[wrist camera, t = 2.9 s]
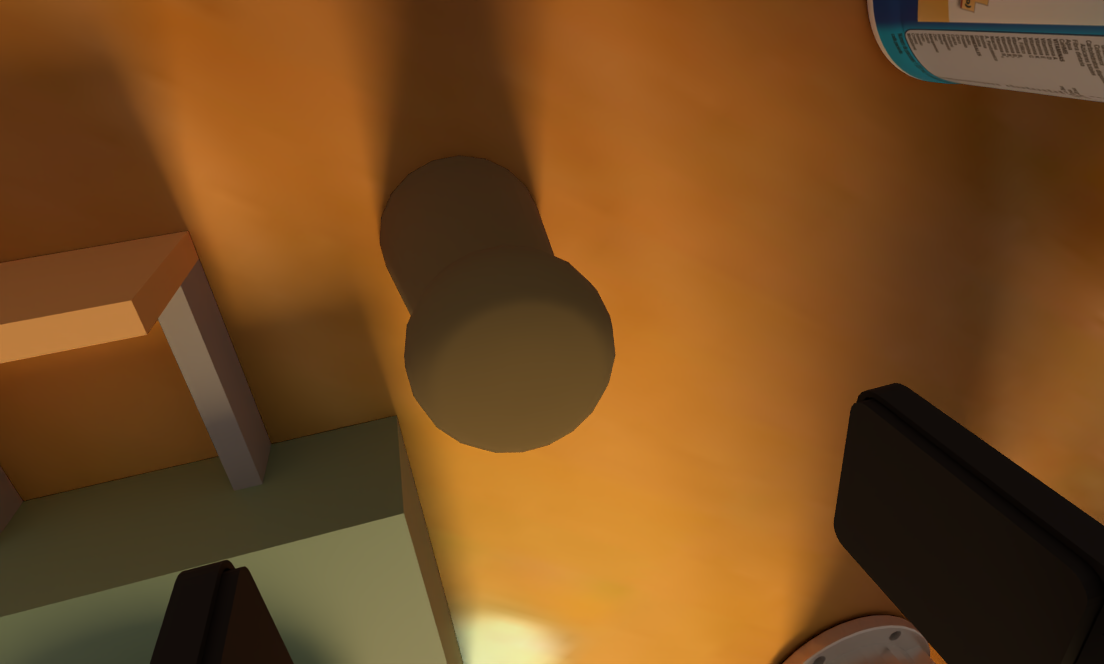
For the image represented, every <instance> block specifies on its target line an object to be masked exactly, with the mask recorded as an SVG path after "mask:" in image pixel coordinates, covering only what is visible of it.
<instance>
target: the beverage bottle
mask: <svg viewBox="0 0 1104 664" xmlns="http://www.w3.org/2000/svg"><path fill="white" fill-rule="evenodd" d="M867 7H868V15H869V20H870V24H871V28H872V31H873V34H874V37H875V39H876V41H877V43H878V45H879V47H880V49H881V50H882V52H883V53H884V55H885V56H886V57H887V59H888V60H889V61H890V62H891V63H892V64H893V65H894V66H895V67H897V68H898V69H899V70H901V71H902V72H904V73H905V74H907V75H909V76H911V77H914V78H917V79H920V80H924V81H929V82H937V83H947V84H966V85H974V86H982V87H990V88H998V89H1006V90H1013V91H1021V92H1029V93H1036V94H1044V95H1051V96H1059V97H1067V98H1074V99H1082V100H1089V101H1097V102H1104V0H867Z"/></svg>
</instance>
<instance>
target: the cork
mask: <svg viewBox="0 0 1104 664" xmlns="http://www.w3.org/2000/svg"><path fill="white" fill-rule="evenodd" d="M380 246H381V249H382V253H383V256H384V260H385V263H386V267H387V269H388V271H389V273H390V275H391V277H392V279H393V281H394V283H395V285H396V287H397V289H398V291H399V293H400V295H401V297H402V299H403V301H404V303H405V305H406V307H407V309H408V311H409V313H410V315H411V317H410V320H409V322H408V324H407V329H406V341H405V353H404V358H405V368H406V372H407V375H408V379H409V382H410V385H411V389H412V392H413V396H414V397H415V398H416V400H417V401H418V403H419V404H420V406H421V407H422V408H423V410H424V411H425V412H426V414H427V415H428V416H429V418H430V419H431V420H432V422H433V423H434V424H435V425H436V427H437V428H439V429H440V430H442V431H443V432H445V433H446V434H448V435H449V436H451V437H452V438H454V439H456V440H457V441H459V442H460V443H463V444H466V445H469V446H473V447H476V448H480V449H484V450H487V451H491V452H495V453H505V452H525V451H529V450H532V449H536V448H539V447H543V446H547V445H550V444H551V443H553V442H555V441H557V440H558V439H560V438H562V437H564V436H565V435H567V434H569V433H571V432H572V431H574V430H575V429H576V428H577V427H578V426H579V425H580V424H581V423H582V422H583V421H584V420H585V419H586V418H587V417H588V416H589V415H590V414H591V413H592V412H593V410H594V408H595V407H596V405H597V403H598V401H599V400H600V398H601V396H602V395H603V393H604V391H605V389H606V387H607V385H608V383H609V380H610V376H611V371H612V367H613V363H614V358H615V347H614V338H613V329H612V323H611V319H610V315H609V313H608V311H607V309H606V307H605V305H604V303H603V301H602V299H601V297H600V295H599V293H598V291H597V290H596V289H595V288H594V287H593V285H592V284H591V283H590V282H589V281H588V280H587V279H586V278H585V277H584V276H582V275H581V274H580V273H579V272H578V271H577V270H576V269H575V268H574V267H573V266H572V265H571V264H570V263H568V262H567V261H564V260H562V259H560V258H557V257H555V256H554V254H553V251H552V248H551V245H550V242H549V240H548V237H547V234H546V231H545V228H544V225H543V223H542V220H541V217H540V214H539V211H538V209H537V207H536V205H535V203H534V201H533V199H532V197H531V195H530V193H529V191H528V189H527V188H526V186H524V185H523V184H522V183H521V182H520V181H519V180H518V179H517V178H516V177H515V176H514V175H513V174H512V173H511V172H510V171H509V170H507V169H505V168H503V167H501V166H499V165H497V164H495V163H493V162H491V161H488V160H486V159H482V158H474V157H466V156H454V157H449V158H444V159H439V160H434V161H431V162H429V163H428V164H426V165H424V166H422V167H421V168H419V169H417V170H415V171H414V172H412V173H410V174H409V175H408V176H407V177H406V178H405V179H404V180H403V181H402V183H401V184H400V185H399V186H398V187H397V188H396V189H395V190H394V192H393V193H392V194H391V196H390V198H389V201H388V203H387V205H386V208H385V210H384V213H383V215H382V217H381V231H380Z"/></svg>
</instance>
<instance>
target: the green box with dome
mask: <svg viewBox="0 0 1104 664" xmlns="http://www.w3.org/2000/svg"><path fill="white" fill-rule="evenodd" d="M157 319H158V320H159V323H160V325H161V327H162V329H163V332H164V334H165V336H166V338H167V341H168V343H169V345H170V347H171V350H172V352H173V354H174V356H175V359H176V361H177V363H178V365H179V368H180V370H181V372H182V374H183V377H184V379H185V381H186V383H187V386H188V388H189V390H190V393H191V395H192V397H193V399H194V402H195V404H196V406H197V408H198V411H199V413H200V415H201V417H202V420H203V422H204V424H205V426H206V429H207V431H208V433H209V435H210V438H211V440H212V442H213V444H214V447H215V449H216V451H217V453H218V456H219V457H214V458H210V459H206V460H201V461H197V462H193V463H188V464H184V465H180V466H175V467H171V468H167V469H162V470H158V471H154V472H149V473H145V474H141V475H136V476H132V477H128V478H123V479H119V480H115V481H110V482H106V483H102V484H97V485H93V486H89V487H84V488H80V489H76V490H71V491H67V492H63V493H58V494H54V495H50V496H45V497H41V498H37V499H32V500H28V501H24V502H23V500H22V499H21V497H20V496H19V494H18V493H17V491H16V490H15V488H14V487H13V485H12V483H11V482H10V480H9V479H8V477H7V476H6V474H5V473H4V471H3V470H2V468H1V467H0V664H150V661H151V658H152V654H153V651H154V648H155V645H156V642H157V638H158V635H159V632H160V629H161V625H162V622H163V619H164V616H165V613H166V609H167V606H168V603H169V600H170V596H171V593H172V590H173V587H174V584H175V581H176V579H177V576H178V575H179V574H180V573H181V572H182V571H185V570H189V569H193V568H197V567H200V566H204V565H208V564H212V563H215V562H219V561H223V560H229V561H230V562H231V563H232V564H233V566H234V567H235V569H236V568H239V567H244V566H245V567H247V568H248V569H249V571H250V573H251V575H252V577H253V579H254V581H255V583H256V585H257V587H258V590H259V592H260V594H261V596H262V598H263V600H264V602H265V604H266V606H267V608H268V611H269V613H270V615H271V617H272V619H273V621H274V623H275V625H276V627H277V629H278V632H279V634H280V636H281V638H282V640H283V642H284V644H285V646H286V648H287V650H288V652H289V655H290V657H291V659H292V661H293V663H294V664H463V661H462V657H461V653H460V649H459V646H458V642H457V638H456V635H455V631H454V627H453V623H452V620H451V616H450V612H449V608H448V605H447V601H446V597H445V594H444V590H443V586H442V582H441V579H440V575H439V571H438V568H437V564H436V560H435V556H434V553H433V549H432V545H431V541H430V538H429V534H428V530H427V527H426V523H425V519H424V515H423V512H422V508H421V504H420V501H419V497H418V493H417V489H416V486H415V482H414V478H413V474H412V471H411V467H410V463H409V460H408V456H407V452H406V448H405V445H404V441H403V437H402V434H401V430H400V426H399V422H398V419H397V415H396V416H392V417H388V418H383V419H379V420H375V421H370V422H366V423H362V424H357V425H353V426H349V427H344V428H340V429H336V430H331V431H327V432H323V433H318V434H314V435H310V436H305V437H301V438H297V439H292V440H288V441H284V442H279V443H275V444H271V442H270V440H269V437H268V434H267V432H266V429H265V427H264V424H263V422H262V419H261V416H260V414H259V411H258V409H257V406H256V404H255V401H254V398H253V396H252V393H251V391H250V388H249V386H248V383H247V381H246V378H245V375H244V373H243V370H242V368H241V365H240V363H239V360H238V357H237V355H236V352H235V350H234V347H233V345H232V342H231V340H230V337H229V334H228V332H227V329H226V327H225V324H224V322H223V319H222V316H221V314H220V311H219V309H218V306H217V304H216V301H215V299H214V296H213V293H212V291H211V288H210V286H209V283H208V281H207V278H206V275H205V273H204V270H203V268H202V265H201V263H200V260H199V258H198V255H197V252H196V250H195V247H194V245H193V242H192V240H191V237H190V234H189V232H188V231H184V232H178V233H172V234H167V235H161V236H155V237H149V238H143V239H137V240H132V241H126V242H120V243H114V244H108V245H102V246H97V247H91V248H85V249H79V250H73V251H67V252H62V253H56V254H50V255H44V256H38V257H32V258H27V259H21V260H15V261H9V262H3V263H0V363H5V362H10V361H16V360H21V359H26V358H31V357H36V356H41V355H46V354H51V353H56V352H62V351H67V350H72V349H77V348H82V347H87V346H92V345H97V344H102V343H107V342H113V341H118V340H123V339H128V338H133V337H138V336H143V335H147V334H148V333H149V331H150V330H151V328H152V327H153V325H154V324H155V322H156V321H157Z"/></svg>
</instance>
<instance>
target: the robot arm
mask: <svg viewBox="0 0 1104 664" xmlns="http://www.w3.org/2000/svg"><path fill="white" fill-rule="evenodd" d="M834 529H835V533H836V535H837V538H838V539H839V541H840V543H841V544H842V545H843V547H844V548H845V549H846V550H847V551H848V552H849V553H850V555H851V556H852V557H853V558H854V559H855V560H856V561H857V562H858V564H859V565H860V566H861V567H862V568H863V569H864V570H865V571H866V573H867V574H868V575H869V576H870V577H871V578H872V579H873V580H874V582H875V583H876V584H877V585H878V586H879V587H880V588H881V589H882V591H883V592H884V593H885V594H886V595H887V596H888V597H889V598H890V600H891V601H892V602H893V603H894V604H895V605H896V606H897V607H898V609H899V610H900V611H901V612H902V613H903V614H904V615H905V616H906V618H907V619H908V620H909V621H910V622H909V621H907V620H905V619H903V618H901V617H895V616H890V615H873V616H867V617H862V618H857V619H854V620H851V621H848V622H845V623H842V624H840V625H837V626H835V627H833V628H831V629H829V630H827V631H825V632H823V633H821V634H820V635H818V636H816V637H815V638H813V639H811V640H810V641H808V642H807V643H806V644H804V645H803V646H802V647H800V648H799V649H798V650H796V651H795V652H794V653H793V654H792V655H791V656H790V657H789V658H788V659H787V660H785V661H784V662H783V663H782V664H935V663H934V662H933V660H932V659H931V658H930V649H929V645H928V642H929V643H930V645H931V646H932V647H933V648H934V649H935V650H936V651H937V652H938V654H939V655H940V656H941V657H942V658H943V659H944V660H945V661H946V663H947V664H1104V526H1103V525H1102V524H1101V523H1099V522H1098V521H1096V520H1095V519H1093V518H1092V517H1091V516H1089V515H1088V514H1086V513H1085V512H1084V511H1082V510H1081V509H1079V508H1078V507H1076V506H1075V505H1074V504H1072V503H1071V502H1069V501H1068V500H1067V499H1065V498H1064V497H1062V496H1061V495H1059V494H1058V493H1057V492H1055V491H1054V490H1052V489H1051V488H1050V487H1048V486H1047V485H1045V484H1044V483H1042V482H1041V481H1040V480H1038V479H1037V478H1035V477H1034V476H1033V475H1031V474H1030V473H1028V472H1027V471H1025V470H1024V469H1023V468H1021V467H1020V466H1018V465H1017V464H1015V463H1014V462H1013V461H1011V460H1010V459H1008V458H1007V457H1006V456H1004V455H1003V454H1001V453H1000V452H998V451H997V450H996V449H994V448H993V447H991V446H990V445H989V444H987V443H986V442H984V441H983V440H981V439H980V438H979V437H977V436H976V435H974V434H973V433H972V432H970V431H969V430H967V429H966V428H964V427H963V426H962V425H960V424H959V423H957V422H956V421H955V420H953V419H952V418H950V417H949V416H947V415H946V414H945V413H943V412H942V411H940V410H939V409H937V408H936V407H935V406H933V405H932V404H930V403H929V402H928V401H926V400H925V399H923V398H922V397H920V396H919V395H918V394H916V393H915V392H913V391H912V390H911V389H909V388H908V387H906V386H904V385H902V384H898V383H893V384H890V385H886V386H882V387H878V388H874V389H871V390H867V391H864V392H862V393H861V394H860V395H859V396H858V399H857V403H854V405H853V406H852V408H851V411H850V417H849V424H848V431H847V437H846V444H845V451H844V457H843V464H842V471H841V477H840V484H839V490H838V497H837V504H836V510H835V517H834ZM927 641H928V642H927ZM150 664H294V663H293V661H292V659H291V657H290V655H289V652H288V650H287V648H286V646H285V644H284V642H283V640H282V638H281V636H280V634H279V632H278V629H277V627H276V625H275V623H274V621H273V619H272V617H271V615H270V613H269V611H268V608H267V606H266V604H265V602H264V600H263V598H262V596H261V594H260V592H259V590H258V587H257V585H256V583H255V581H254V579H253V577H252V575H251V573H250V571H249V569H248V568H247V567H245V566H244V567H239V568H236V569H235V567H234V566H233V564H232V563H231V562H230V561H229V560H223V561H219V562H215V563H212V564H208V565H204V566H200V567H197V568H193V569H189V570H185V571H182V572H181V573H180V574H179V575H178V576H177V579H176V581H175V584H174V587H173V590H172V593H171V596H170V600H169V603H168V606H167V609H166V613H165V616H164V619H163V622H162V625H161V629H160V632H159V635H158V638H157V642H156V645H155V648H154V651H153V654H152V658H151V661H150Z"/></svg>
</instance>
